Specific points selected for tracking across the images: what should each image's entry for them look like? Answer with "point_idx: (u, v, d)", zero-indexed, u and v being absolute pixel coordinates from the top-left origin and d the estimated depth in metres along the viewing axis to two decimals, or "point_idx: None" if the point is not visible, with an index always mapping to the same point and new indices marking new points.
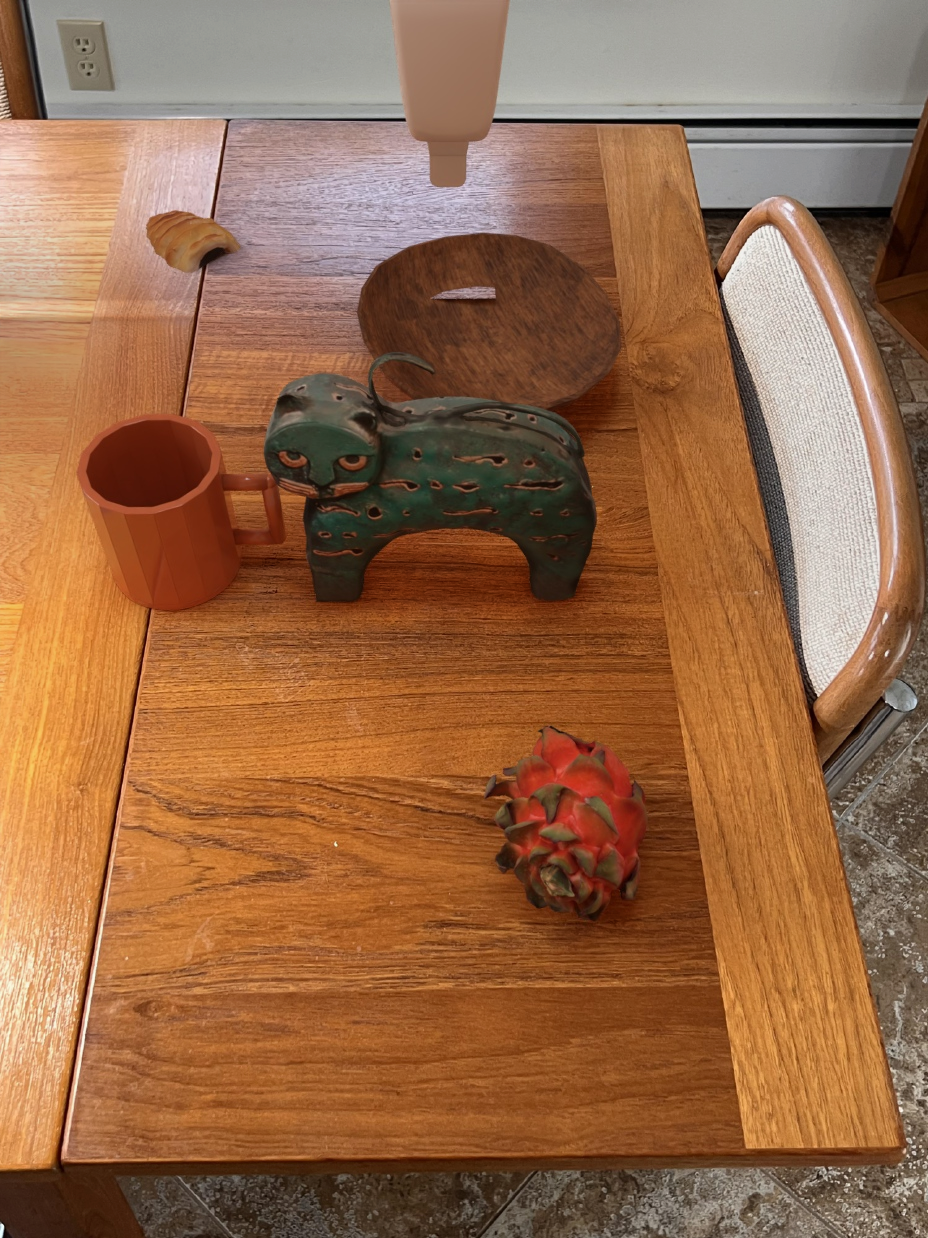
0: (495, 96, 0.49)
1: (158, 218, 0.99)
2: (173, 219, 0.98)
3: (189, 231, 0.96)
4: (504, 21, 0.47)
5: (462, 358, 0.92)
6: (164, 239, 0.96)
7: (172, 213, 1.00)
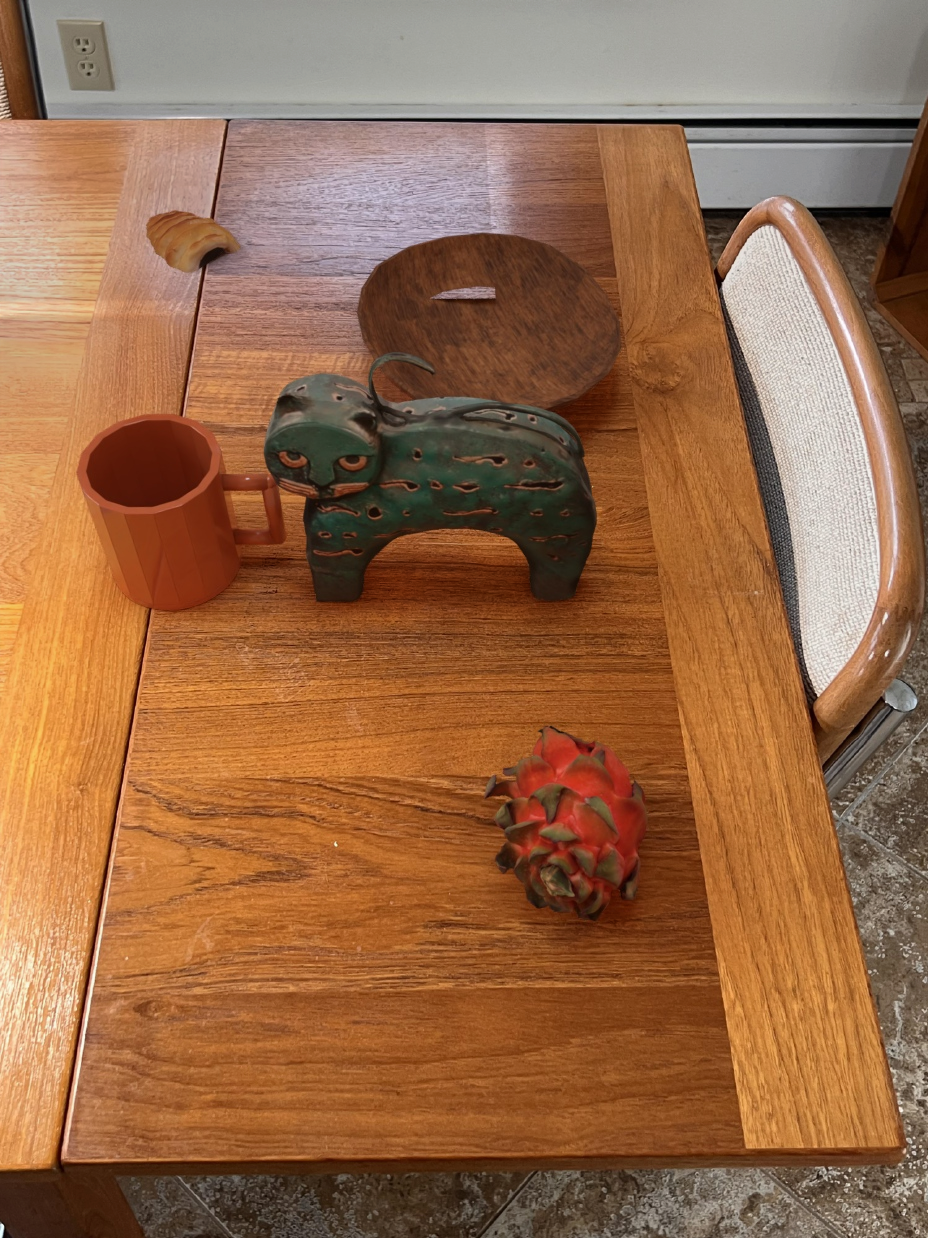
0: None
1: (158, 218, 0.99)
2: (173, 219, 0.98)
3: (189, 231, 0.96)
4: None
5: (462, 358, 0.92)
6: (164, 239, 0.96)
7: (172, 213, 1.00)
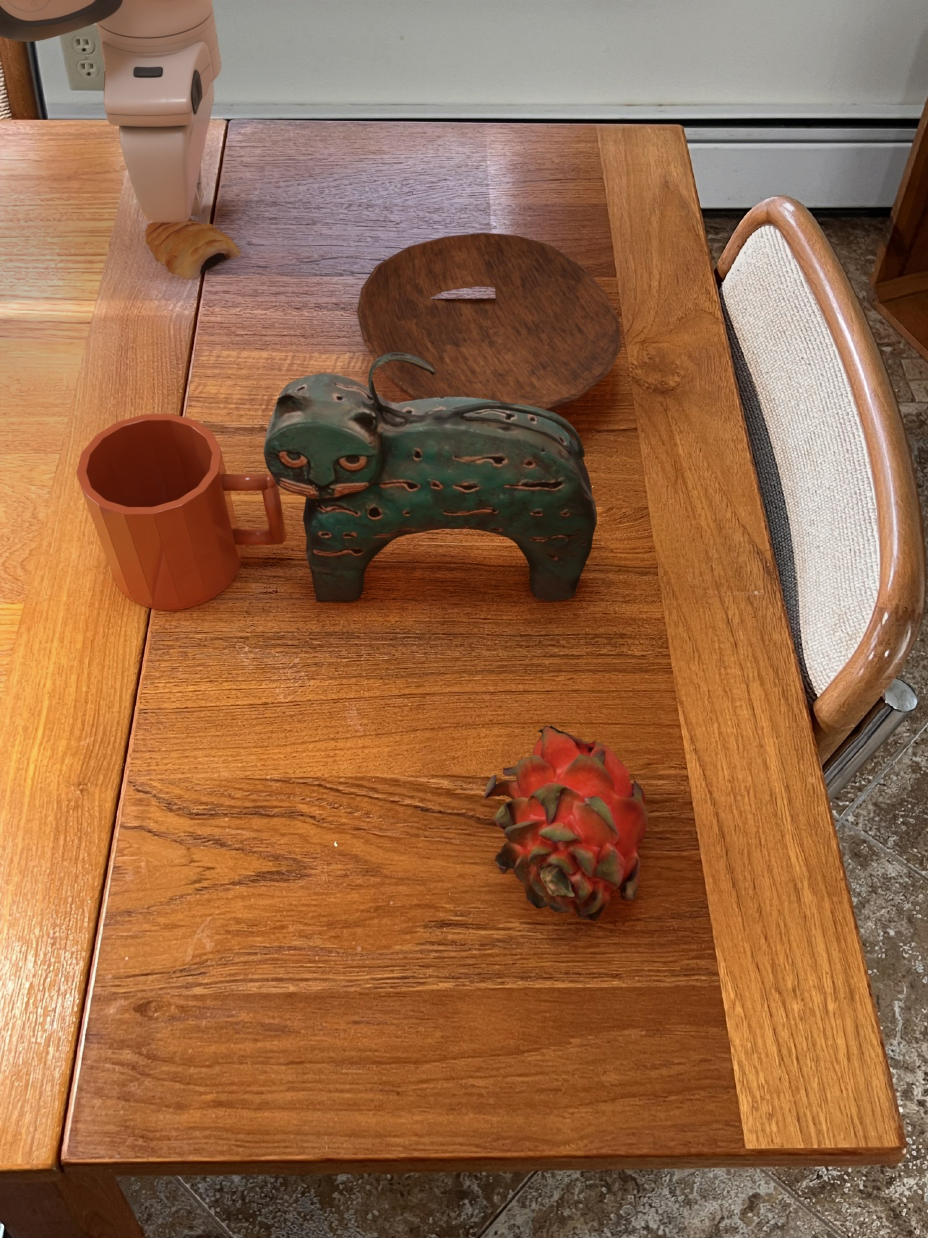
0: (187, 199, 0.89)
1: (157, 224, 0.99)
2: (172, 225, 0.98)
3: (189, 237, 0.96)
4: (184, 161, 0.87)
5: (462, 358, 0.92)
6: (164, 246, 0.96)
7: None
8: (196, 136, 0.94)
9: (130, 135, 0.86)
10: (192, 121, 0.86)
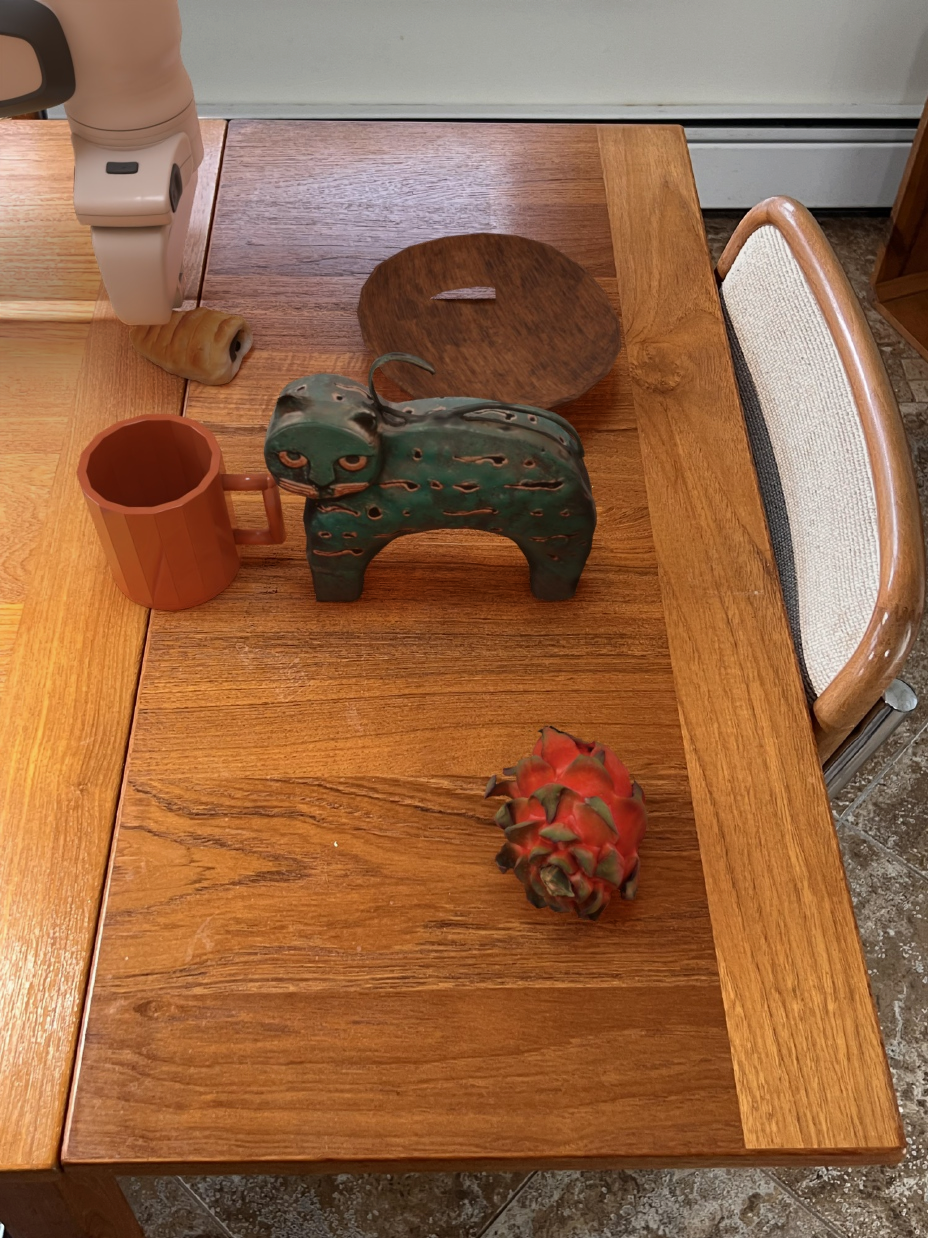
0: (166, 302, 0.81)
1: (146, 327, 0.90)
2: None
3: (201, 326, 0.89)
4: (163, 263, 0.79)
5: (462, 358, 0.92)
6: (180, 343, 0.88)
7: None
8: (177, 228, 0.86)
9: (103, 236, 0.78)
10: (171, 221, 0.78)
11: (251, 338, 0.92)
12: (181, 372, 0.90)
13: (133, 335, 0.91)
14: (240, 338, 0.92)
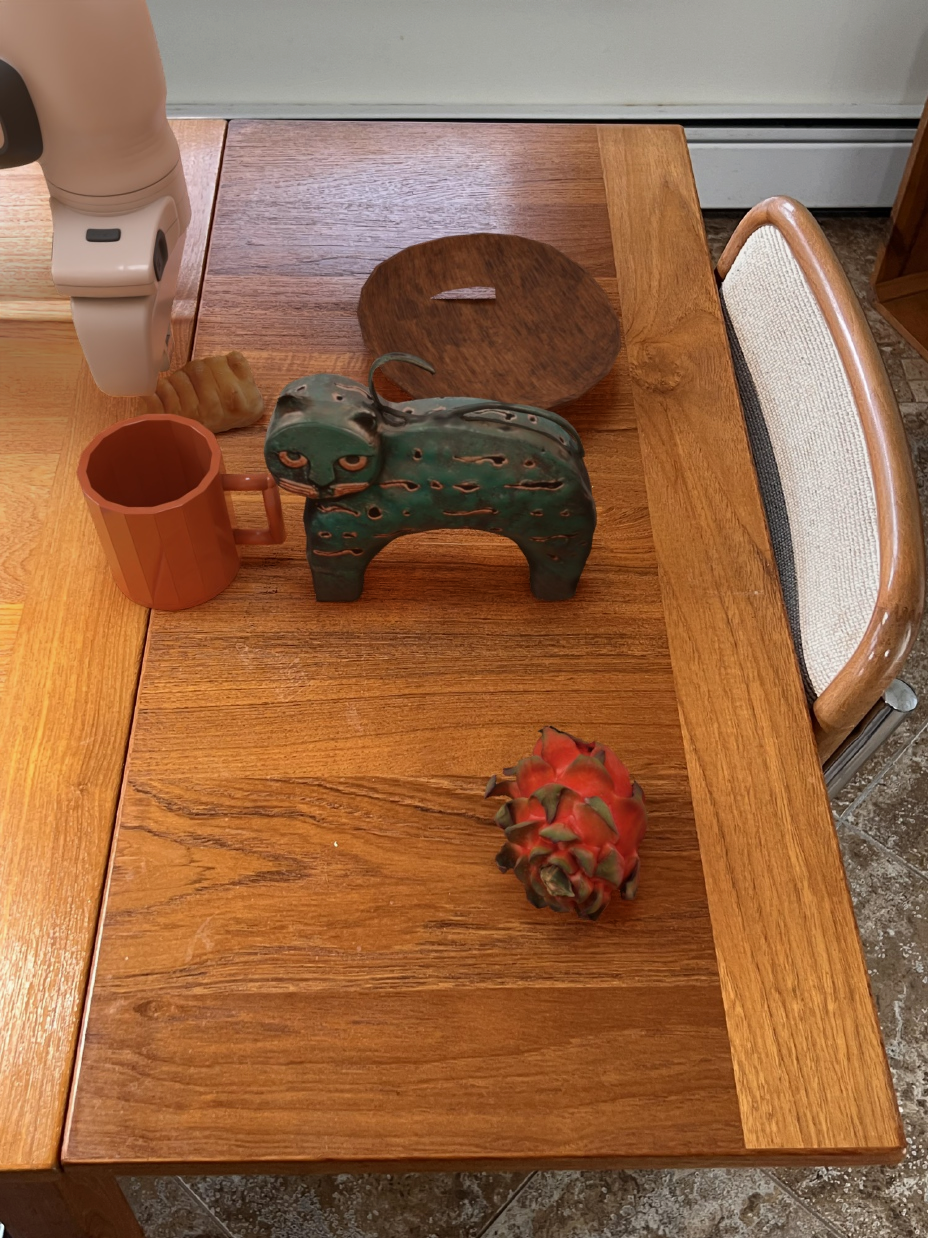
0: (151, 374, 0.77)
1: (159, 402, 0.85)
2: (177, 386, 0.85)
3: (217, 373, 0.86)
4: (147, 334, 0.75)
5: (462, 358, 0.92)
6: (213, 397, 0.85)
7: None
8: (163, 292, 0.81)
9: (83, 307, 0.74)
10: (155, 291, 0.73)
11: None
12: (218, 427, 0.86)
13: None
14: None
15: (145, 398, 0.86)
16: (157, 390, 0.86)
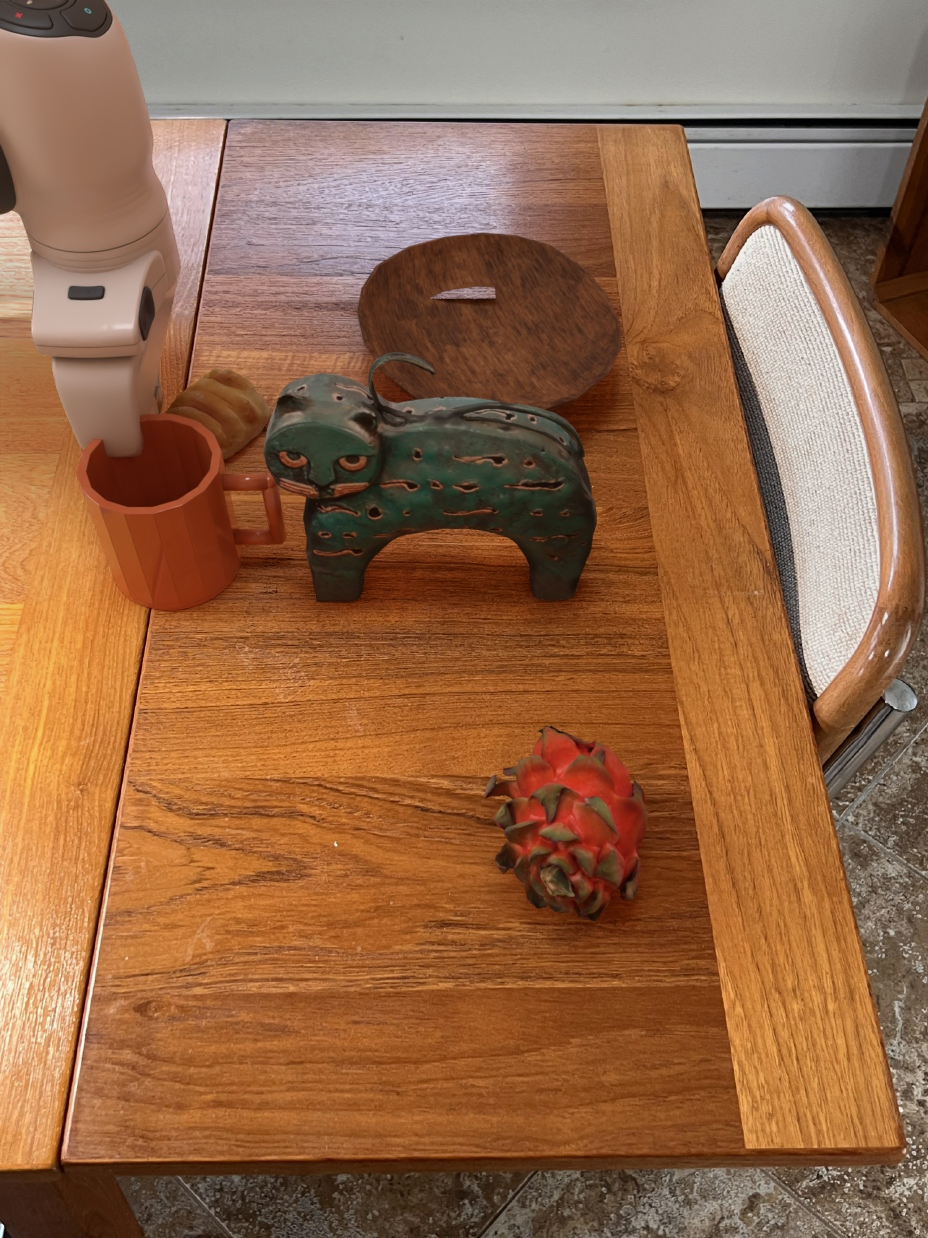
0: (137, 435, 0.73)
1: None
2: None
3: (219, 392, 0.84)
4: (132, 396, 0.71)
5: (462, 358, 0.92)
6: (232, 414, 0.84)
7: None
8: (151, 346, 0.78)
9: (65, 367, 0.70)
10: (141, 351, 0.70)
11: None
12: (241, 443, 0.85)
13: None
14: None
15: None
16: None
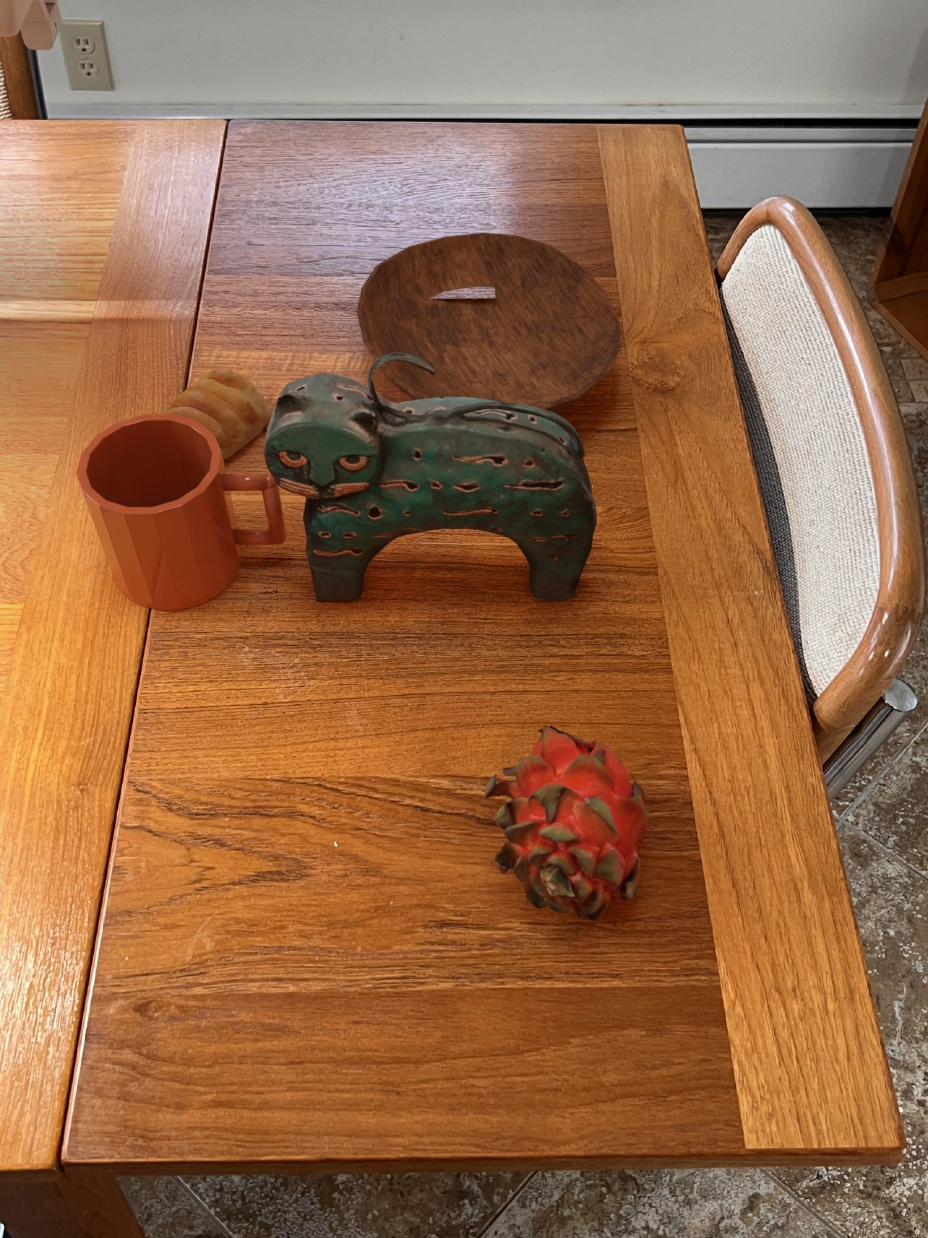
0: None
1: None
2: None
3: (219, 392, 0.84)
4: None
5: (462, 358, 0.92)
6: (232, 414, 0.84)
7: None
8: None
9: None
10: None
11: None
12: (241, 443, 0.85)
13: None
14: None
15: None
16: None
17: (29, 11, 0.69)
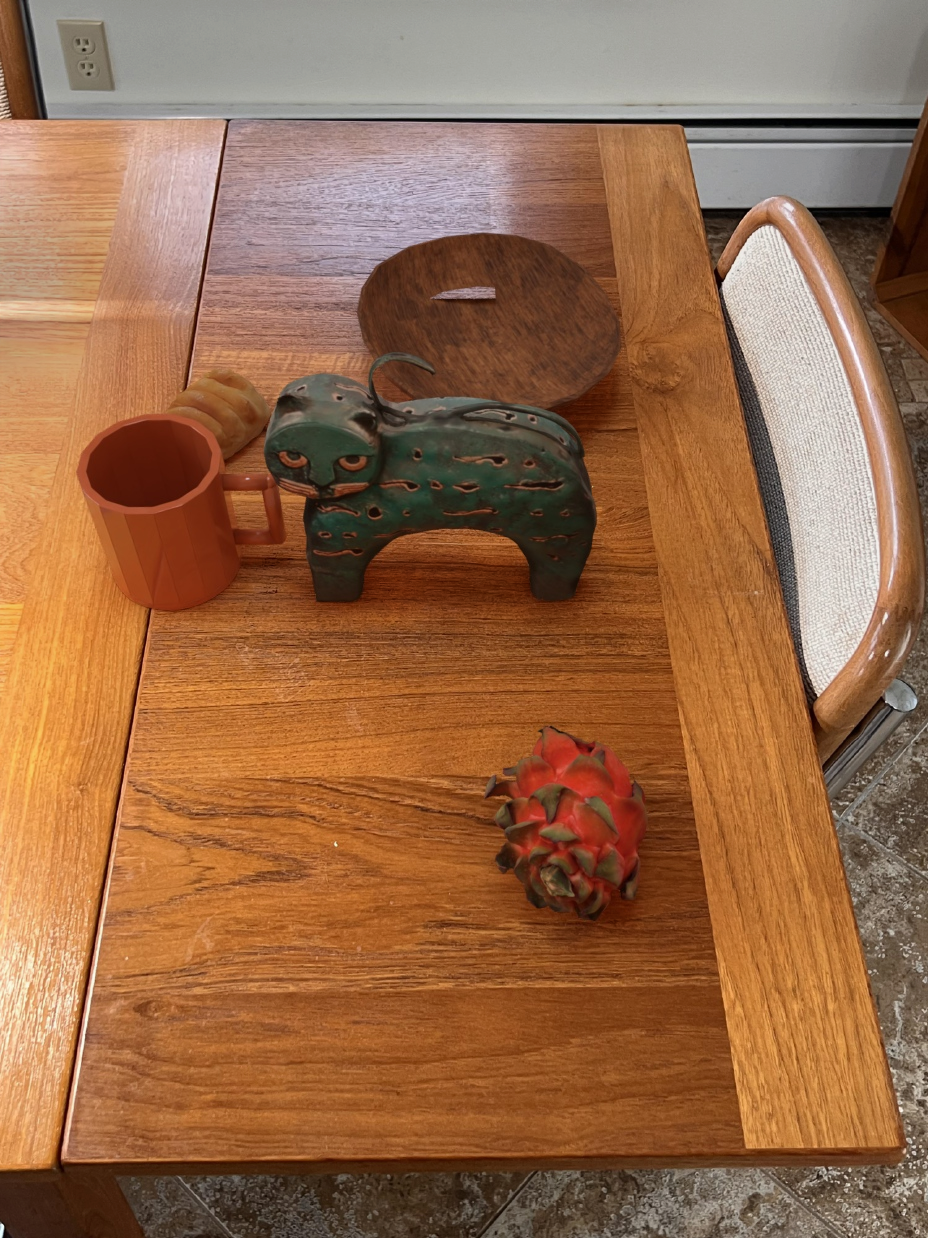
0: None
1: None
2: None
3: (219, 392, 0.84)
4: None
5: (462, 358, 0.92)
6: (232, 414, 0.84)
7: None
8: None
9: None
10: None
11: None
12: (241, 443, 0.85)
13: None
14: None
15: None
16: None
17: None
